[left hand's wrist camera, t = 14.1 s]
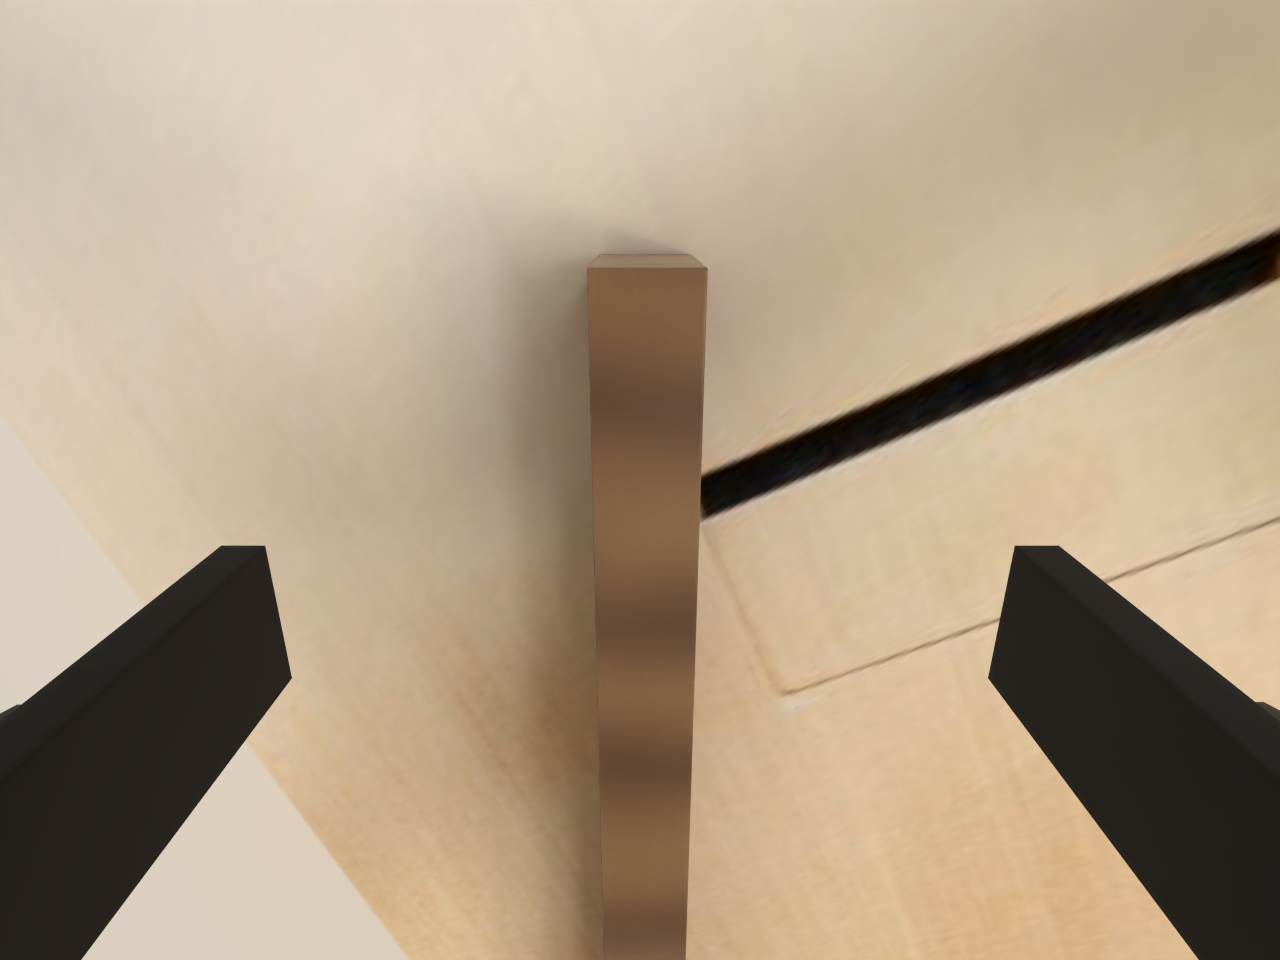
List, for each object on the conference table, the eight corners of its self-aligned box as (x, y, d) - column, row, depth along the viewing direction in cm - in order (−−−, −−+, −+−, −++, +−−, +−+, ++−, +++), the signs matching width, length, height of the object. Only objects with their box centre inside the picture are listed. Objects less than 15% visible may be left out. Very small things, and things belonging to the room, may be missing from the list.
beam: (599, 254, 35) (586, 267, 27) (691, 254, 35) (707, 267, 27) (615, 1129, 59) (611, 1277, 51) (670, 1129, 59) (675, 1277, 51)
